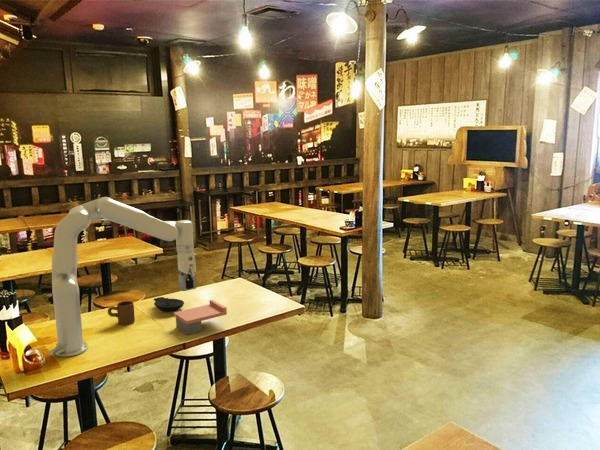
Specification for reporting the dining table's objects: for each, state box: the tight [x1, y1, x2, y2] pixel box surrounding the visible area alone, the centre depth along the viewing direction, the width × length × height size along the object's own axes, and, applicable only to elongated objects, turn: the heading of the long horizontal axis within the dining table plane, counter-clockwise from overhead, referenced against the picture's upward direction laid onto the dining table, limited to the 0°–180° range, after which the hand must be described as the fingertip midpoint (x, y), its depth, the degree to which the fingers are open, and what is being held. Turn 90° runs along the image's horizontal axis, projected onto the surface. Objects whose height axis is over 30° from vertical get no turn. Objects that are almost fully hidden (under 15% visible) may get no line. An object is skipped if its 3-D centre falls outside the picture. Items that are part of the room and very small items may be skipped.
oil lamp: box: [153, 296, 185, 314], centre depth 254 cm, size 15×20×5 cm
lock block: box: [177, 272, 197, 292], centre depth 225 cm, size 6×5×7 cm
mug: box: [107, 300, 136, 326], centre depth 235 cm, size 12×8×9 cm, turn 125°
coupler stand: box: [173, 299, 228, 336], centre depth 231 cm, size 20×14×9 cm
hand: (187, 286), depth 225 cm, fingers closed on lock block, 5 cm apart
